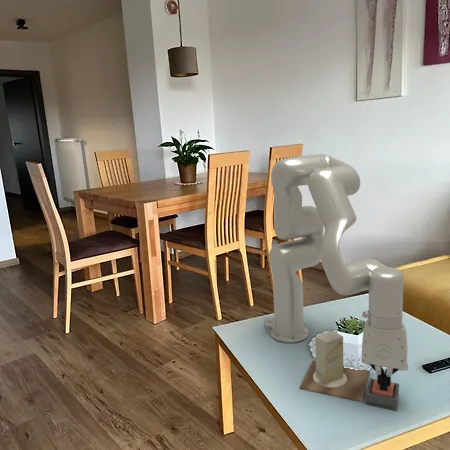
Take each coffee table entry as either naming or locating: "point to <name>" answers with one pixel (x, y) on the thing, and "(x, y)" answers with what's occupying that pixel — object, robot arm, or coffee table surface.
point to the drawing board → (338, 383)
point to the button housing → (382, 398)
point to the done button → (381, 392)
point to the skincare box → (329, 357)
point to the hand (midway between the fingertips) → (383, 387)
